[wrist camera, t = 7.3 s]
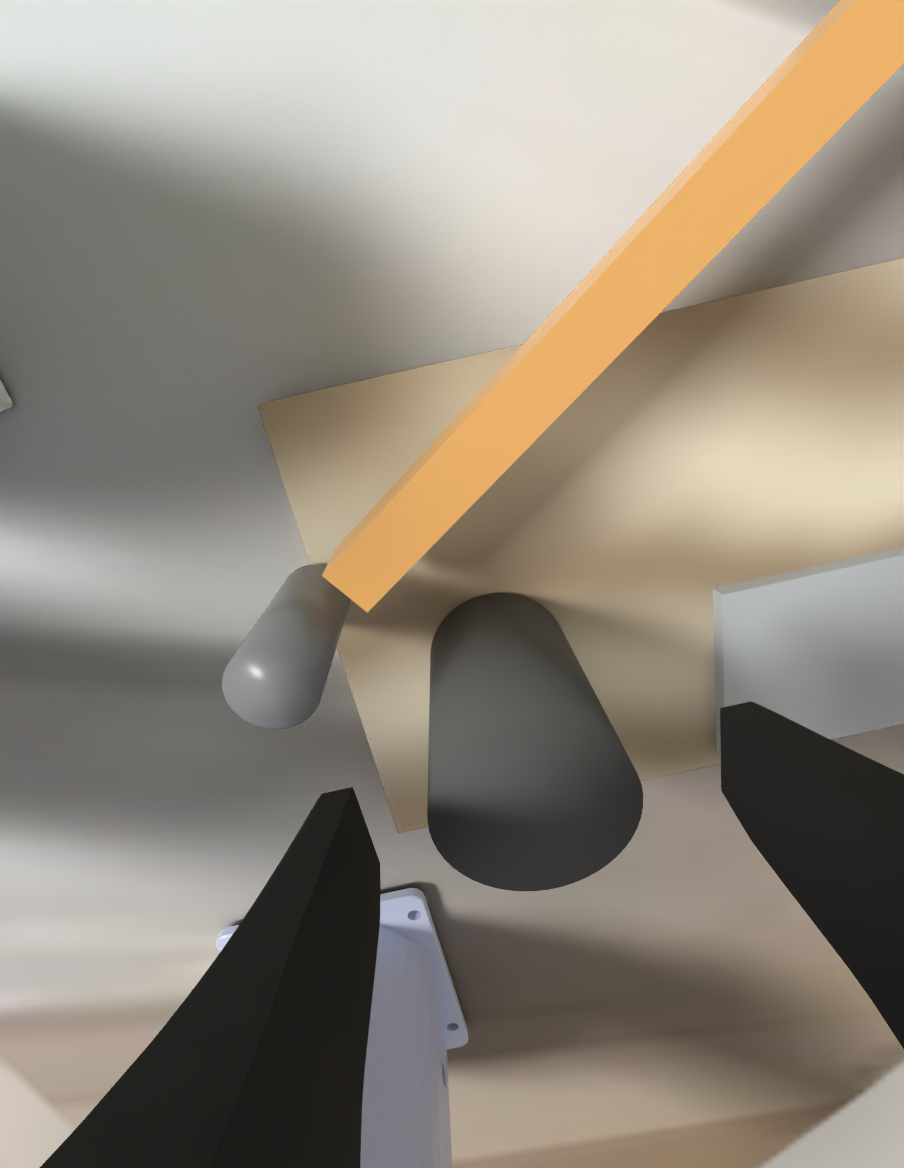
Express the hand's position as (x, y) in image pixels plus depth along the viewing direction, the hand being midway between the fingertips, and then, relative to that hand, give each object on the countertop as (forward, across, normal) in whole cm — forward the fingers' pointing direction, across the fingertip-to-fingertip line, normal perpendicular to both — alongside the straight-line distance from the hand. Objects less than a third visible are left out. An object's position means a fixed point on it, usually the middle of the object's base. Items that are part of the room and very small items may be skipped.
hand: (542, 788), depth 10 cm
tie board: (+7, -4, -1) cm, 8 cm away
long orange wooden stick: (+5, -2, -7) cm, 9 cm away
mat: (+6, -9, +2) cm, 11 cm away
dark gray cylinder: (+6, 0, 0) cm, 6 cm away
